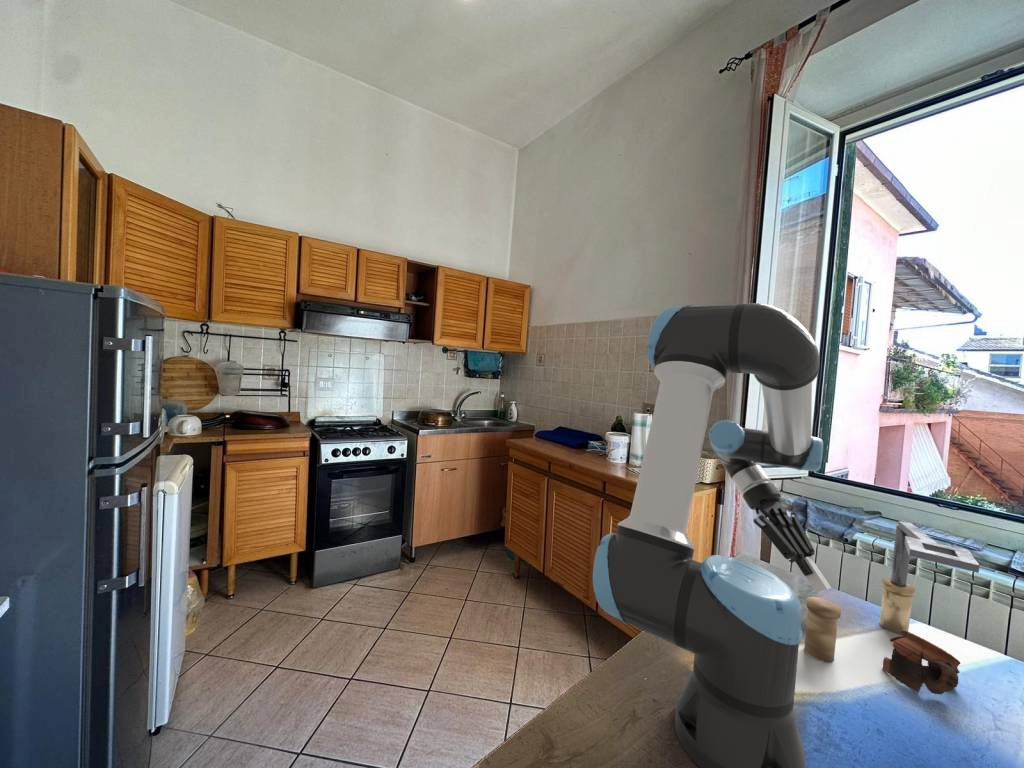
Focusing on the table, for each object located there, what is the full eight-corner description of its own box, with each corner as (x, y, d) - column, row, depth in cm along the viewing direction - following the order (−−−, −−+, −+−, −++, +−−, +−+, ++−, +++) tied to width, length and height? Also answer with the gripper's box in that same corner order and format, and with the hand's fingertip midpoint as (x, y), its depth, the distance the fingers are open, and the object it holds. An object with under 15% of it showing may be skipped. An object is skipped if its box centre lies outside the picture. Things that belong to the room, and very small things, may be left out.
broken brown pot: (864, 659, 77) (884, 619, 78) (919, 695, 74) (939, 653, 75) (916, 691, 65) (938, 643, 66) (983, 734, 63) (1005, 684, 64)
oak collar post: (800, 653, 76) (805, 604, 76) (803, 640, 80) (808, 593, 80) (835, 667, 73) (840, 615, 73) (836, 653, 77) (841, 604, 77)
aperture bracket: (882, 671, 73) (896, 545, 72) (877, 617, 90) (887, 515, 89) (963, 701, 67) (979, 565, 66) (941, 638, 84) (953, 529, 83)
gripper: (763, 494, 108) (827, 592, 93) (727, 497, 102) (789, 600, 88) (785, 479, 103) (857, 580, 88) (749, 481, 97) (819, 588, 83)
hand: (823, 590), depth 88 cm, fingers closed
